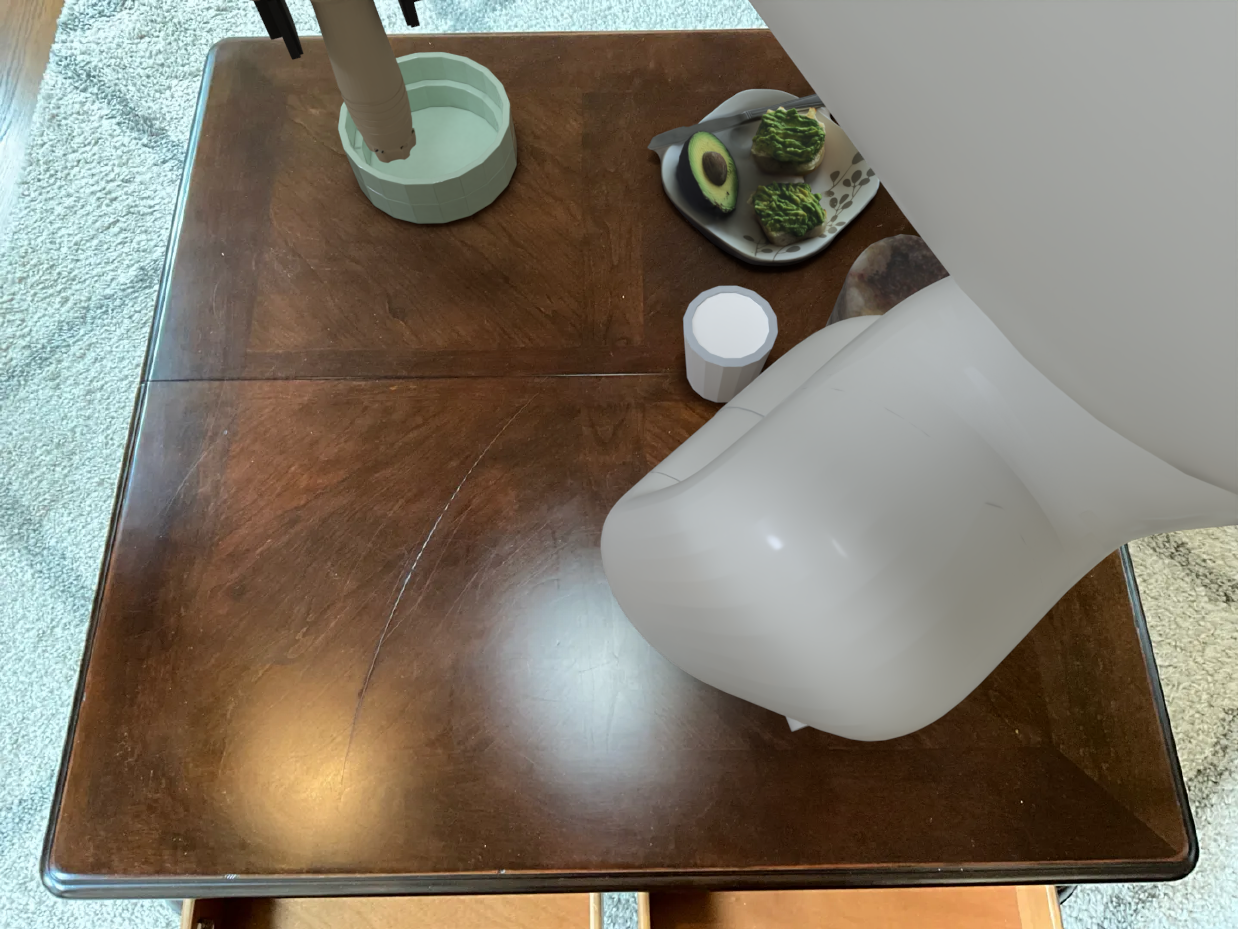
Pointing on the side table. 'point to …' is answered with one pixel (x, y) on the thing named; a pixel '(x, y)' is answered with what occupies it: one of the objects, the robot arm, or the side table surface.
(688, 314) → the white short cylinder
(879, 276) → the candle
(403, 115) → the handle
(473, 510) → the side table surface
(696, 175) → the avocado toast plate
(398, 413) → the side table surface
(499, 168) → the bowl
